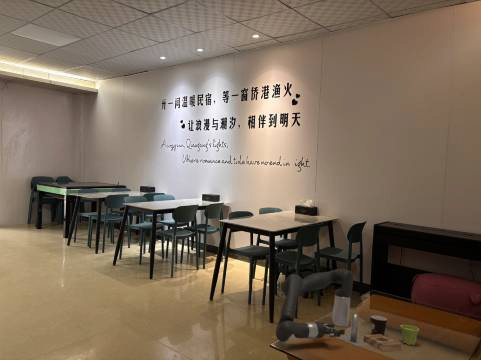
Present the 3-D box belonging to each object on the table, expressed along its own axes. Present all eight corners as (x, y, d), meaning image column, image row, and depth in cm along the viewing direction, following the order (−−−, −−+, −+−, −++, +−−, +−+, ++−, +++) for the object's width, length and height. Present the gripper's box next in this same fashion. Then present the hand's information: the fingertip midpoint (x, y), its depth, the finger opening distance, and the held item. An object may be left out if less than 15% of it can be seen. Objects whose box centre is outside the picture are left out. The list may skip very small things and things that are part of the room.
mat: (337, 337, 206) (337, 336, 206) (351, 336, 210) (351, 335, 210) (355, 346, 193) (355, 346, 193) (370, 345, 198) (370, 344, 198)
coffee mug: (387, 339, 210) (388, 321, 211) (370, 337, 212) (372, 318, 213) (383, 333, 222) (384, 315, 222) (368, 330, 223) (369, 313, 224)
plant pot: (415, 348, 200) (416, 331, 201) (397, 342, 206) (398, 326, 207) (420, 344, 207) (421, 328, 208) (403, 339, 213) (403, 323, 214)
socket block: (363, 342, 202) (363, 335, 202) (380, 340, 207) (380, 334, 207) (383, 352, 189) (383, 345, 190) (400, 350, 194) (401, 343, 195)
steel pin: (349, 340, 201) (350, 313, 202) (353, 340, 203) (355, 313, 204) (353, 342, 198) (355, 315, 199) (357, 342, 200) (359, 315, 201)
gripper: (304, 332, 196) (329, 332, 202) (320, 343, 183) (347, 341, 189) (305, 318, 196) (331, 317, 203) (322, 327, 183) (348, 326, 190)
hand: (338, 329), depth 196 cm, fingers open, 8 cm apart
